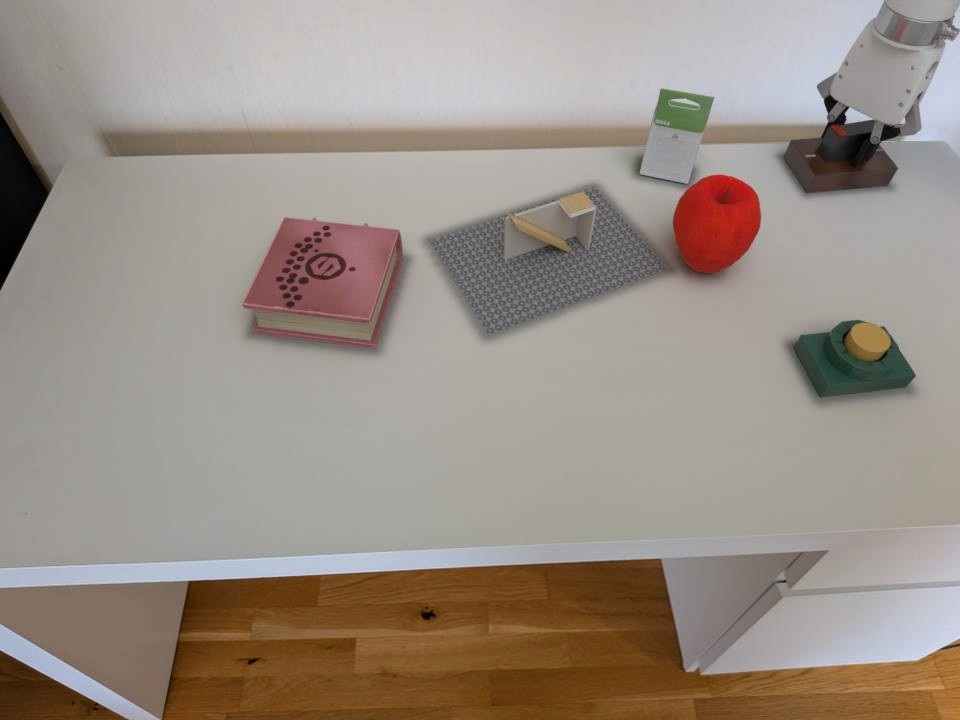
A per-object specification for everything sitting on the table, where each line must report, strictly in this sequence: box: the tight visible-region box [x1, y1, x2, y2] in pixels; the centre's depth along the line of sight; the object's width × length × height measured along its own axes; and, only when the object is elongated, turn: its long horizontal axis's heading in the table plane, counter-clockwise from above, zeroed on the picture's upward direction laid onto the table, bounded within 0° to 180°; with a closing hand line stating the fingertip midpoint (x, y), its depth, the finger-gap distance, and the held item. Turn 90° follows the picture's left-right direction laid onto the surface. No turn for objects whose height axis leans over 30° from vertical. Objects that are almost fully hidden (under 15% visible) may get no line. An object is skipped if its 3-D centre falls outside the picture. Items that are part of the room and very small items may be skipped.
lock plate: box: [783, 137, 899, 194], centre depth 95 cm, size 12×8×3 cm, turn 98°
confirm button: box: [844, 322, 890, 362], centre depth 72 cm, size 4×4×2 cm
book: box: [241, 216, 404, 349], centre depth 80 cm, size 14×15×5 cm
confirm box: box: [793, 319, 917, 398], centre depth 74 cm, size 10×7×4 cm
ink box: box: [639, 87, 715, 185], centre depth 91 cm, size 7×4×13 cm, turn 71°
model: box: [503, 190, 598, 260], centre depth 83 cm, size 3×11×8 cm, turn 115°
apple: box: [672, 174, 762, 274], centre depth 81 cm, size 10×10×12 cm
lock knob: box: [817, 118, 875, 162], centre depth 93 cm, size 7×2×4 cm, turn 105°
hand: (843, 152), depth 94 cm, fingers closed on lock knob, 4 cm apart
